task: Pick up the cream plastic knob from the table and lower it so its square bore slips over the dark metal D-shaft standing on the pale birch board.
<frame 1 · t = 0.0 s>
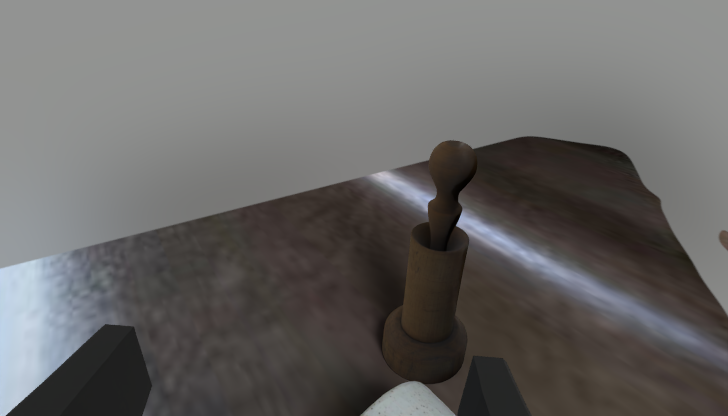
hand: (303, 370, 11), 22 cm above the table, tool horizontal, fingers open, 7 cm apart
mortar and pestle: (421, 353, 41), on the table
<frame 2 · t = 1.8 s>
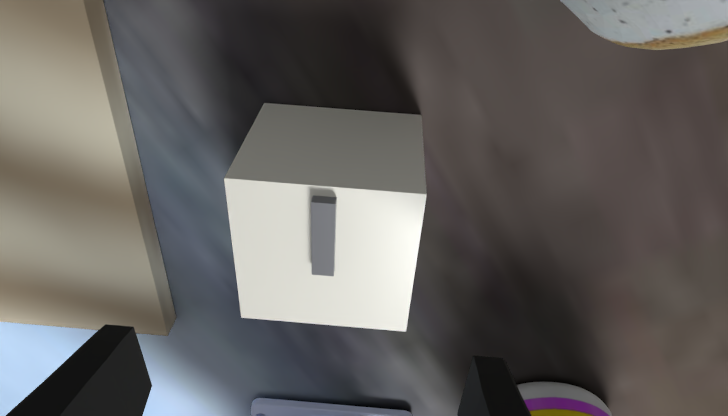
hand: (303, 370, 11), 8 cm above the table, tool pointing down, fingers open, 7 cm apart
supplement bottle: (535, 413, 25), on the table
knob: (340, 175, 18), on the table
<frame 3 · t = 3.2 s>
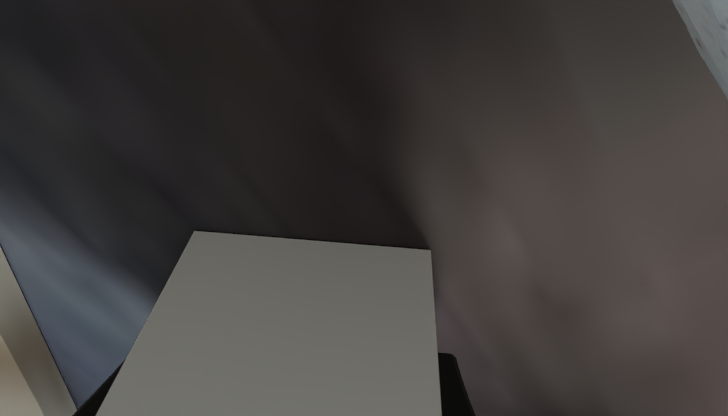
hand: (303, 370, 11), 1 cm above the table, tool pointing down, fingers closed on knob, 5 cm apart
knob: (312, 321, 12), on the table, touching gripper
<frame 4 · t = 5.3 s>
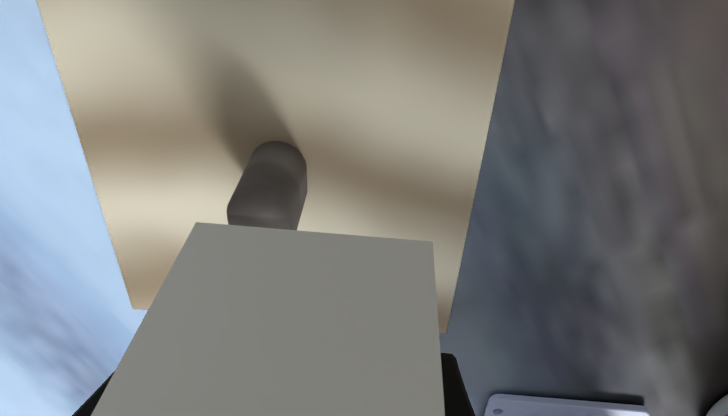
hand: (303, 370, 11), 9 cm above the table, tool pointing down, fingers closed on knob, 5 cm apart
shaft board: (284, 152, 19), on the table
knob: (314, 313, 12), point 8 cm above the table, touching gripper
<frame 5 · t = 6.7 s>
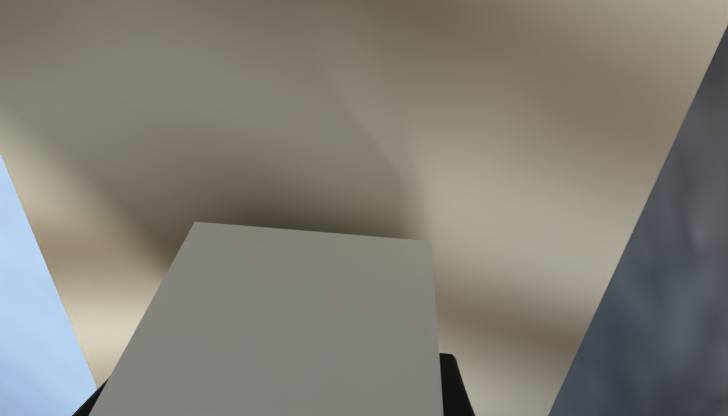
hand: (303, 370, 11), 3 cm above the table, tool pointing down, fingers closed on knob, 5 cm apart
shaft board: (323, 264, 14), on the table
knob: (313, 313, 12), point 2 cm above the table, touching gripper
when the fingers open (3 cm above the table, at t = 7.6 s): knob stays where it is, resting on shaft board.
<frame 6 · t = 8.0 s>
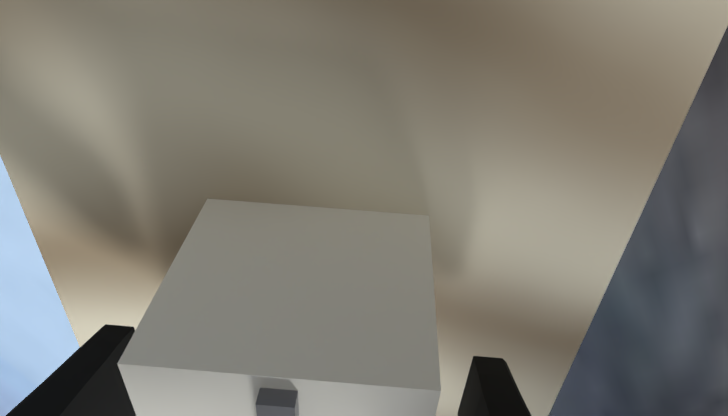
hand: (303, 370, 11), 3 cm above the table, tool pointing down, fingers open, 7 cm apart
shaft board: (323, 265, 14), on the table
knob: (318, 287, 13), point 1 cm above the table, touching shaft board
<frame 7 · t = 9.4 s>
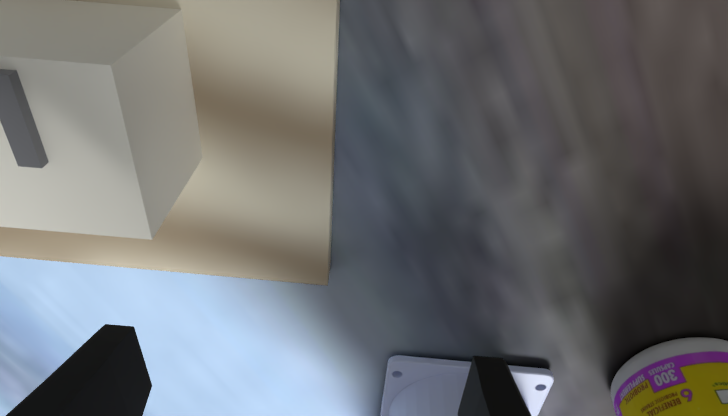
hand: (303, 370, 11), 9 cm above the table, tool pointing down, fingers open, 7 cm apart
supplement bottle: (676, 372, 25), on the table
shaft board: (130, 76, 17), on the table
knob: (115, 83, 16), point 1 cm above the table, touching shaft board
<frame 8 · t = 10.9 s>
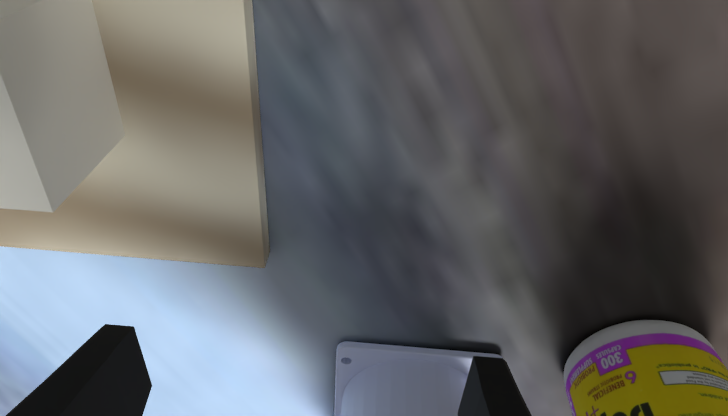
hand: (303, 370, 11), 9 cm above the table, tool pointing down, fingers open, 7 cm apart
supplement bottle: (630, 357, 25), on the table
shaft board: (49, 53, 17), on the table
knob: (30, 59, 16), point 1 cm above the table, touching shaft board
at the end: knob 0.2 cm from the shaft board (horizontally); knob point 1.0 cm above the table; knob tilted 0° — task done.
